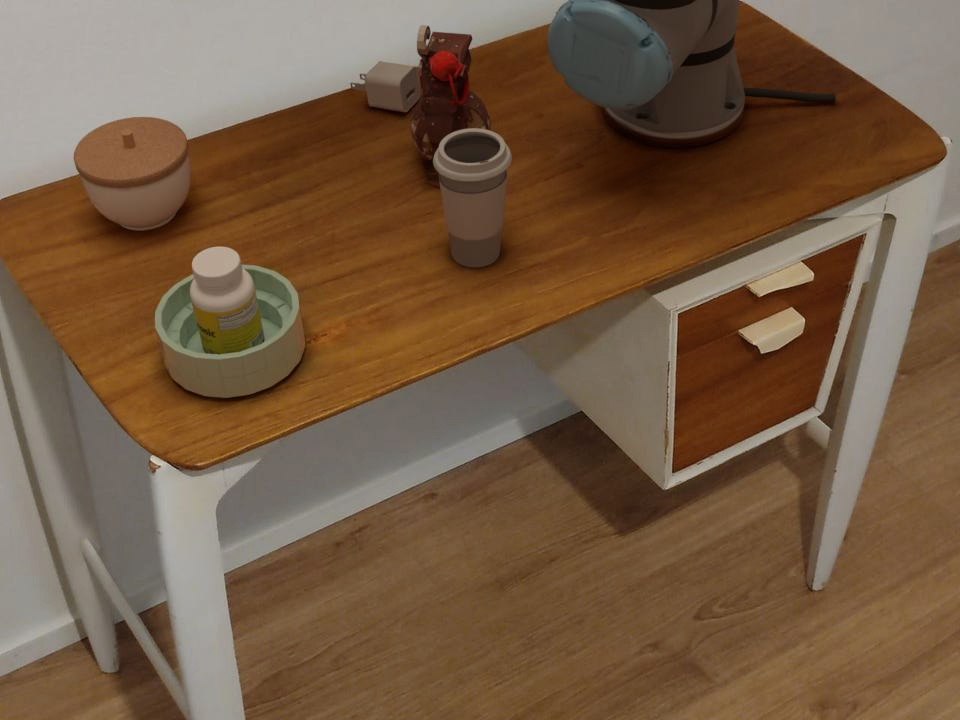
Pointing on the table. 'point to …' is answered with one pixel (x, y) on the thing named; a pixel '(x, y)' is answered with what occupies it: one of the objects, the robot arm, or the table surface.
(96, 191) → the trinket box
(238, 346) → the supplement bottle
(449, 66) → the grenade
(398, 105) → the usb wall charger
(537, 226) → the table surface
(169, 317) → the sage bowl
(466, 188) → the cup
